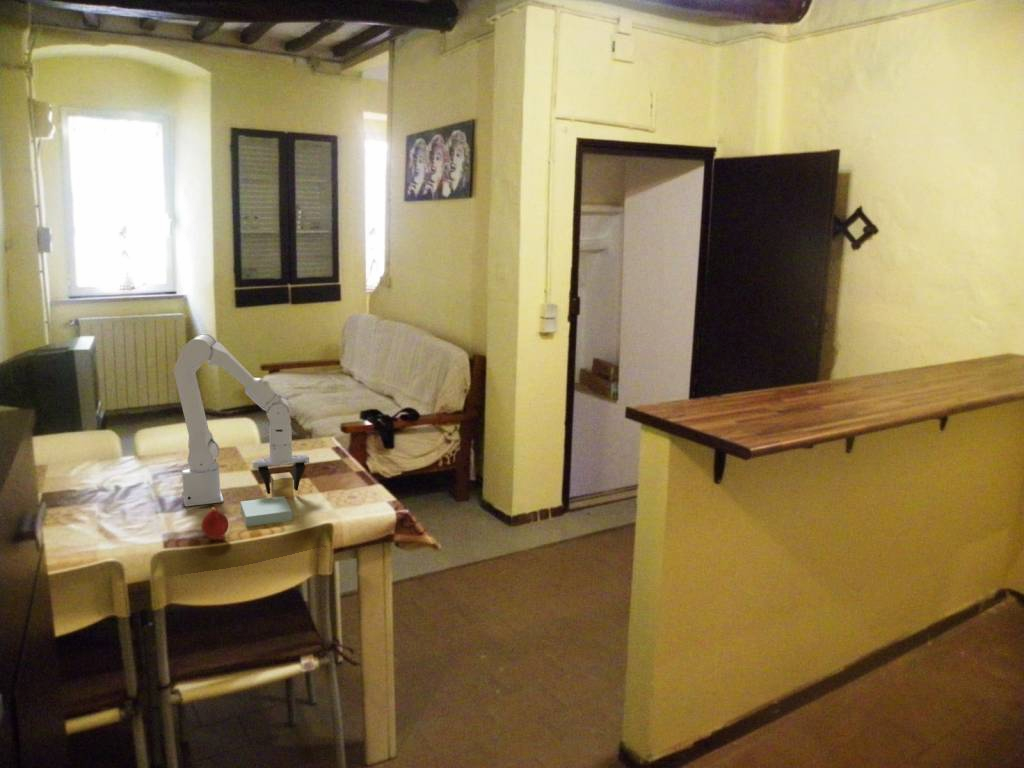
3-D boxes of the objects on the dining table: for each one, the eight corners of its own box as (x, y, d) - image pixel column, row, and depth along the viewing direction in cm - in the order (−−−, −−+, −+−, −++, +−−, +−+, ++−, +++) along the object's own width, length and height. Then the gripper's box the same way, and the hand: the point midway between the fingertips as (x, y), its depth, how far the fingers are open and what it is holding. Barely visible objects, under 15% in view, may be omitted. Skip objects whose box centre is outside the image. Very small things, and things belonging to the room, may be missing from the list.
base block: (246, 528, 190) (245, 516, 189) (240, 512, 200) (240, 501, 199) (292, 522, 195) (291, 510, 194) (284, 506, 204) (284, 496, 204)
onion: (232, 534, 185) (230, 503, 183) (224, 544, 179) (222, 512, 177) (207, 534, 185) (205, 502, 183) (198, 544, 179) (196, 511, 177)
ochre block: (274, 501, 207) (273, 480, 206) (271, 495, 211) (270, 474, 210) (293, 498, 209) (292, 477, 208) (290, 492, 213) (289, 472, 212)
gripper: (254, 450, 200) (256, 499, 203) (311, 444, 206) (312, 492, 209) (250, 442, 207) (252, 490, 209) (305, 437, 213) (307, 484, 216)
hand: (282, 491), depth 210 cm, fingers open, 7 cm apart
